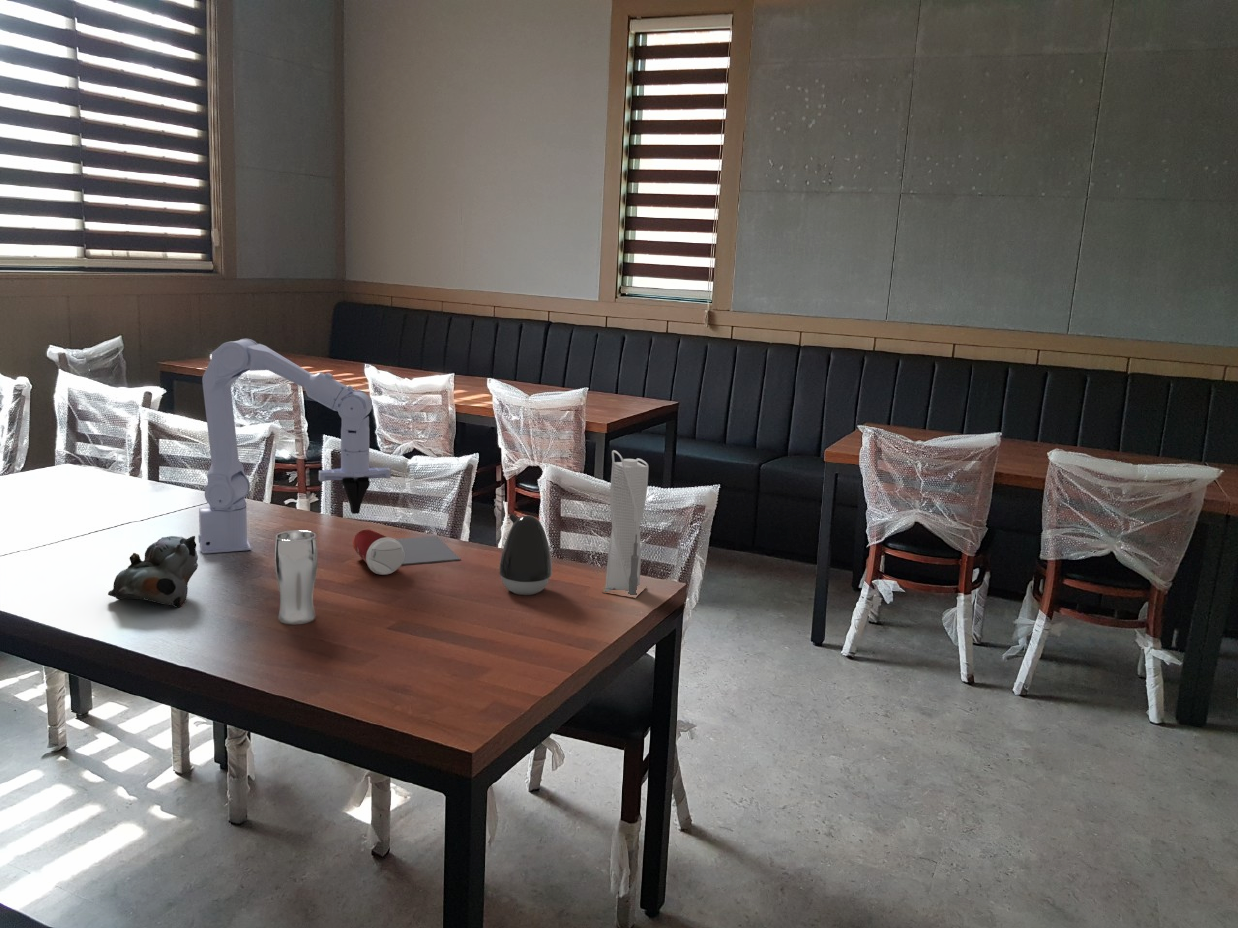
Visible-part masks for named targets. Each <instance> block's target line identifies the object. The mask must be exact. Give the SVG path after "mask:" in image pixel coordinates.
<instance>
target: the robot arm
mask: <svg viewBox="0 0 1238 928" xmlns="http://www.w3.org/2000/svg"><path fill="white" fill-rule="evenodd" d="M248 371H249V372H254V371H269V372H271V373H273V374H275V375H277V376H279V377H282V378H283V379H286V380H287V381H290V382H292V383H294V384H295V385H297V386H299V387H301V388H304V390H305V394H306V395H307V397H308V398H309V399H312V400H313V401H315V402H318V403H319V404H321V405H323V406H325V407H326V408H328V409H330V410H332V411H335V412H338V413H337V414H338V415H339V417H340V418H341V428H340V468H333V469H325V470H324V469H323V470H318V481H319V482H326V481H340V483H341V484H342V487H343V489H344V491H345V493H346V495H347V496H346V497H347V499H348V503H349V507H350V512H351V514H353V515H354V514H360V512H361V511H360V510H361V506H362V502H363V500H364V497H365V495H366V493H367V492H368V489H369V487H370V485H371V481H370V480H371V479H387V480H389V479H391V473H392V472H391V471H392V470H391V469H390V467H370V416H369V414H370V412H372V408H373V403H372V399H371V397H370V396H369V395H368V394H367V393H365V392H364V391H363V390H360V389H358V390H357V389H355V390H354V386H352V385H350V384H349V385H348V386H347V385H346V384H343V383H342V382H341V381H338V380H337V379H335V378H333V377H334V374H332V373H330V372H326V373H324V372H318V373H313V374H312V373H311V372H310V371H308V370H306V369H304V368H303V367H301V366H300V365H297V364H296V363H294V362H293V361H291V360H289V358H286V357H284V356H283V355H281V354H280V353H278V352H276V351H274V350H273V349H272V348H270V347H268V346H267V345H264V344H262V343H257V342H256V341H255V340H253V339H250V338H241V339H239V340H235V341H226V342H223V343H222V344H220V346H218V347H217V348H216V349H215V350H214V351H212V352H211V358H210V361H209V363H208V364H207V367H206V369H205V371H204V373H203V375H202V378H201V379H202V381H201V382H202V390H203V398H204V407H205V408H204V409H205V416H206V426H207V427H206V428H207V434H208V442H209V452H210V463H211V464H210V466H209V469H208V472H207V476H206V477H207V484H206V486H205V489H204V498H205V501H206V503H207V504H208V505H209V506H207V507H200V508H199V509H198V520H199V521H198V522H199V524H198V527H199V534H198V544H199V545H200V551H201V554H215V553H228V552H229V553H230V552H243V551H251V550H252V547H251V545H250V542H249V539H248V521H247V520H248V515H247V514H248V513H247V512H248V511H247V509H248V508H247V502H246V498H245V497H246V496H248V494H249V492H250V489H251V483H250V482H251V481H250V480H249V478H248V476H247V475H246V473H245V468H244V465H243V463H242V462H241V461H240V459H239V453H238V452H239V451H238V441H237V432H236V423H235V422H236V421H235V415H234V413H235V412H234V405H233V395H232V385H233V383H235V382H236V381H237V380H238V379H239V378H240V377H241V376H242V375H243V374H245V373H247V372H248Z"/></svg>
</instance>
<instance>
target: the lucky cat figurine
mask: <svg viewBox="0 0 1238 928" xmlns="http://www.w3.org/2000/svg"><path fill="white" fill-rule="evenodd" d="M195 540H196V536H195V535H192V536H190V537H188V538H186V537H183V536H176V535H169V536H163V537H161V538H159V539H158V540H157V541H155V542H154V543H152V544H150V545H148V547H147V548H146V550H145V552H144V560H142V559H141V556H140V554H138V553H136V552H133V553H132V554H131V555H130V556H129V558H128V559H129V561H130V565H128V566H127V568H125V569H123V570H120V572H119V573H117V575H116V576H115V579H114V581H113V588H112V589H111V590H109V591H108V593H107V595H108V596H110V597H114V598H115V599H117V600H121V599H131V600H145V601H149V602H154V603H158V604H162V605H168V606H173V607H175V608H177V609H178V608H182V606H184V605H185V603H186V601H187V598H188V590H189V589H188V584H189V582H190V579H192V577H193V575H194V574H195V572H196V571H197V569H198V567H199V564H198V559H199V555H198V552H197V550H196V548H197V543H196V541H195Z"/></svg>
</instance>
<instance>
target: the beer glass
mask: <svg viewBox="0 0 1238 928" xmlns="http://www.w3.org/2000/svg"><path fill="white" fill-rule="evenodd" d="M274 570H275V577H276V581H277V587H278V591H279V596H280V597H279V598H280V600H279V602H280V603H279V611H278V617H277V618H278V619H277V620H278V621H279V623H282V624H285V625H292V626H297V625H304V624H308V623H311V622H313V621H314V620H315V619H316V613H315V607H314V598H313V597H314V588H315V583H316V577H317V571H318V544H317V534H316V533H315V532H312V531H310V530H302V529H301V530H300V529H295V530H285V531H281V532H278V533H277V534H275V544H274Z"/></svg>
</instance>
